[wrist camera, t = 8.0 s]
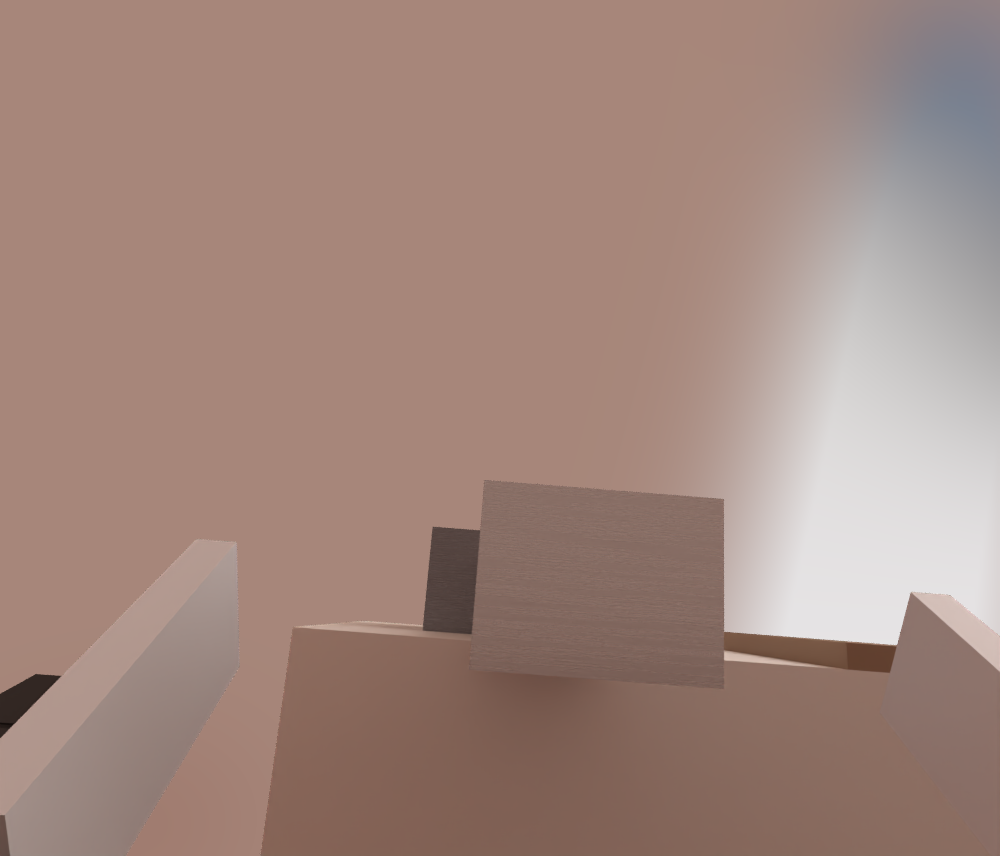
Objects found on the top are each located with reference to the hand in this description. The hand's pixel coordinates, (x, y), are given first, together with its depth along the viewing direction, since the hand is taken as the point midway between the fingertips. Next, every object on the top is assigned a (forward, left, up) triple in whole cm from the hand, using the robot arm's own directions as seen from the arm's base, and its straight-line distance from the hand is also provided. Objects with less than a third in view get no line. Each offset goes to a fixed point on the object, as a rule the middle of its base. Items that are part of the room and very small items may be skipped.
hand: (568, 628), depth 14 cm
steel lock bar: (+7, -5, -1) cm, 8 cm away
